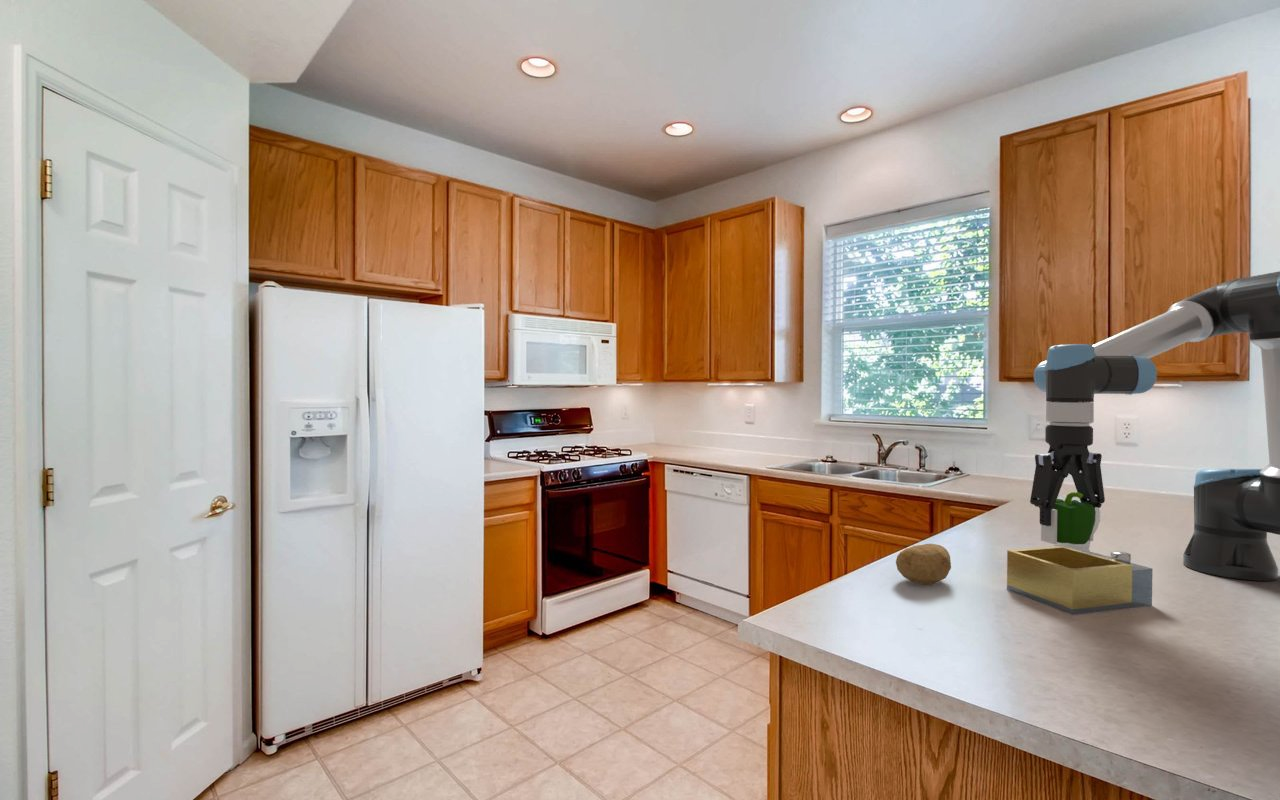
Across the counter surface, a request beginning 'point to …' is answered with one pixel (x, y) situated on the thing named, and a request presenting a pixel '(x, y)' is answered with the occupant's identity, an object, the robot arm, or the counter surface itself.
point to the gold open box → (1079, 579)
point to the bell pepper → (1074, 520)
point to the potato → (924, 563)
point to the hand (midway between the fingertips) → (1067, 540)
